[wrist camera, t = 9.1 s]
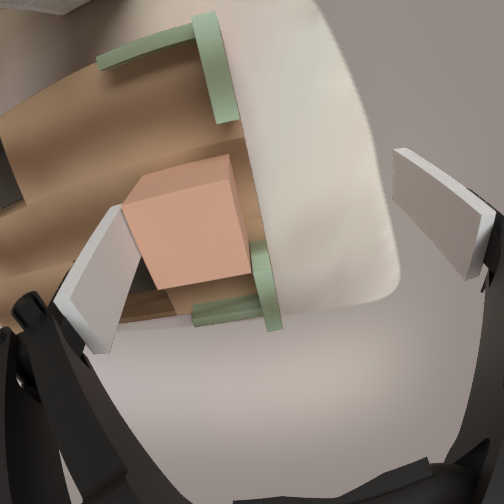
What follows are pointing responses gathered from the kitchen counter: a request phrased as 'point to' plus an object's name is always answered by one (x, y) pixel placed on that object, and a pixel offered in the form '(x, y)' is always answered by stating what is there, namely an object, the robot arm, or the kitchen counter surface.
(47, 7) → the small box
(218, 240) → the block
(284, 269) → the kitchen counter surface
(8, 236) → the tray
